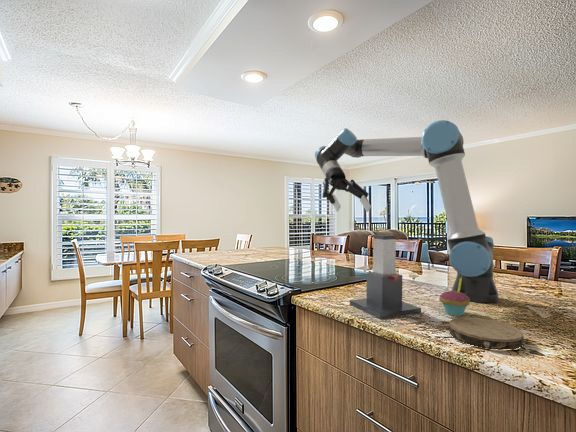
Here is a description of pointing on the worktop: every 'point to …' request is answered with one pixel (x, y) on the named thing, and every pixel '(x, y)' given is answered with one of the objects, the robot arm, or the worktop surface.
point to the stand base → (384, 297)
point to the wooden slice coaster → (486, 333)
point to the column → (384, 255)
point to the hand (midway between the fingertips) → (354, 209)
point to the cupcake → (455, 301)
